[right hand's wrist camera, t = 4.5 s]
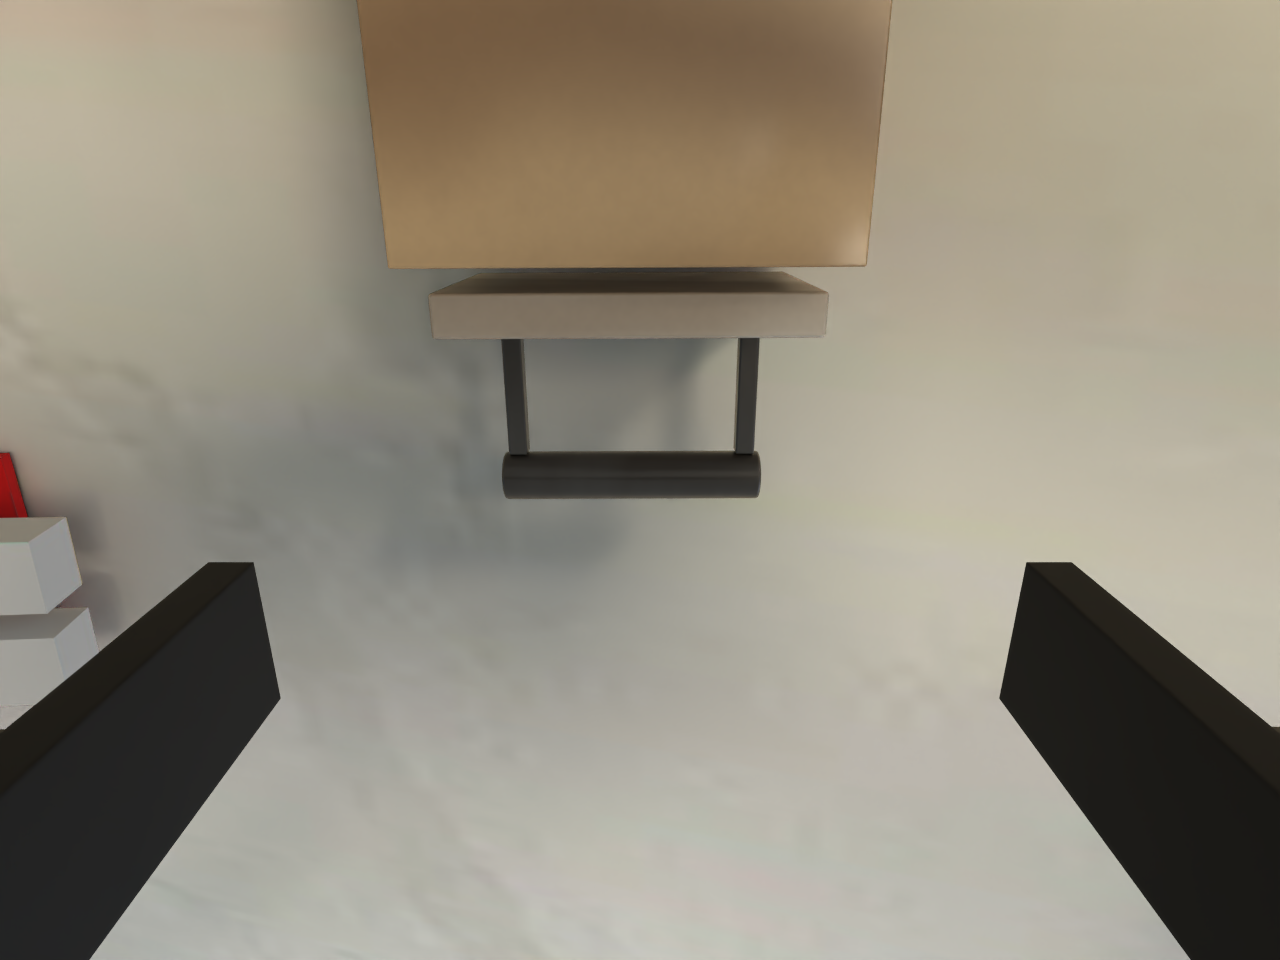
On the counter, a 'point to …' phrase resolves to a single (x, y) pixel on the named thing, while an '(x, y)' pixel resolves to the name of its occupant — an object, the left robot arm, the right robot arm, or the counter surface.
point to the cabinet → (625, 131)
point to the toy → (37, 600)
